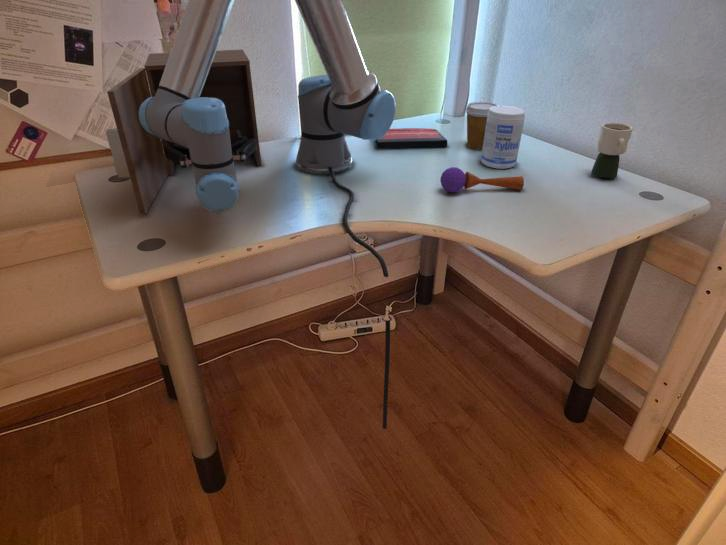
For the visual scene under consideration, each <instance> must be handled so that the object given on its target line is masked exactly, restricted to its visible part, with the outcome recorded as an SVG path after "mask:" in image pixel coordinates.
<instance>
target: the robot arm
mask: <svg viewBox="0 0 726 545" xmlns="http://www.w3.org/2000/svg"><path fill="white" fill-rule="evenodd" d="M235 1H236V0H188V1H187V3H186V7H185V10H184V12H183V15H182V17H181V21H180V24H179V27H178V29H177V32H176V35H175V38H174V41H173V43H172V47H171V50H170V52H169V53H170V55H169V58H168V61H167V64H166V67H165V70H164V72H163V75H162V78H161V81H160V84H159V87H158V89H157V92H156V95H155V97H152V96H151V97H150V98H147V99H146V100H145V101H144V102H143V103H142V104H141V106H140V108H139V120H140V123H141V125H142V126H143V128H144V129H145V130H146V131H147V132H149V133H150V134H152V135H154V136H156V137H157V138H159V139H162V140H168V141H170V142H172V147H170V146H164V150H163V151H165V154H164V155H165V156H166V158H168V159H169V160H171V161H173V162H174V164H177V165H178V166H180V169H183V170H184V169H187V168H188V167H189V166H190V165H191V166H192V172H193V177H194V183H195V193H196V194H195V195H196V197H197V200H198V202H199V203H200V205H201V206H202V207H203V208H204V209H206V210H208V211H210V212H214V213H223V212H227V211H229V210H231V209H232V208H233V207H234V206H235V205H236V204H237V202H238V200H239V195H240V194H239V193H240V188H239V183H238V180H237V174H236V166H235V160H236V161H239V162H240V163H241V164H244V163H246V161H247V159H248V158H249V157H250V156H251V155H252V154H254V153H253V152H254V151H255V150H256V149H257V148H256V140H255V138H251V139H250V140H247V138H246V136H241V133H240V130H236V132H237V140H238V141H237V142H234V143H232V144H231V140H230V132H229V121H228V119H227V114H226V109H225V105H224V103H223V102H222V101H221V100H219V99H217V98H208V97H200V95H201V92H202V90H203V87H204V84H205V81H206V79H207V76H208V73H209V70H210V67H211V65H212V62H213V59H214V56H215V54H216V51H218V48H219V45H220V43H221V40H222V37H223V34H224V32H225V28H226V26H227V23H228V21H229V18H230V15H231V11H232V10H233V7H234V3H235ZM294 2H295V4H296V7H297V8H298V11H299V13H300V15H301V17H302V20H303V22H304V25H305V26H306V27H305V28H306V29H307V32H308V35H309V37H310V38H311V41H312V44H313V45H314V48H315V50H316V53H317V55H318V57H319V59H320V62H321V64H322V67H323V69H324V71H325V74H321V75H314V76H308V77H305V78H302V79H300V81H299V82H298V86H297V88H298V90H297V91H298V94H297V100H298V102H297V103H298V112H299V124H300V142H299V146H298V150H297V154H296V158H295V162H296V164H295V165H296V168H297V169H298V170H299V171H301V172H304V173H306V174H312V175H320V176H321V175H330V177H331V181H332V183H333V184H334V186H335V187H336V188H338V189H339V190H342V191H344V192H345V193H348V194H349V199H348V201H347V203H346V206H345V209H344V212H343V217H342V220H343V221H342V222H343V227H344V229H345V231H346V232H347V234H348V235H349V237H350V238H351V239H352V240H353V241H354V242H356V243H357V244H358V245H360V247H363V248H364V249H366V250H368V251H369V252H370V253H371V254H372V255H373V256H374V257H375V258H376V259H377V260H378V262H379V264H380V267H381V270H382V274H383V277H384V278H388V277H389V271H388V268H387V264H386V262H385V260H384V258H383V256H382V255H380V253H378V251H377V250H375V248H373V247H372V246H371V245H370V244H368V243H366V242H365V241H363V240H362V239H360V238H359V237H358V236H356V235H355V233H354V232H353V231H352V229H351V227H350V226H349V223H348V222H349V221H348V215H349V212H350V209H351V205H352V203H353V202H354V199H355V194H354V191H352V190H351V189H350V188H348V187H347V186H344V185H341V184H340V183H338V181H337V179H336V175H335V174H339V173H343V172H345V171H347V170H349V169H350V168H352V166H353V156H352V153H351V150H350V147H349V144H348V141H347V138H346V136H347V135H348V136H351V137H354V138H358V139H362V140H364V141H366V140H368V141H375V140H379V139H381V138H382V137H383V136H384V135H385V134H386V133H387V132H388V130H389V129H391V127H392V125H393V123H394V119H395V116H396V108H397V107H396V106H397V104H396V99H395V97H394V95H393V94H392V93H391V92H390V91H388V90H385V89H384V90H382V89H381V87H380V84H379V80H378V78H377V75H375V73H374V72H373V71H370V70H367V66H366V65H365V62H364V58H363V56H362V53H361V50H360V47H359V45H358V42H357V39H356V36H355V34H354V31H353V28H352V25H351V22H350V20H349V16H348V14H347V11H346V9H345V6H344V3H343V0H294ZM345 134H347V135H345ZM384 344H385V345H384V347H385V349H384V375H383V376H384V378H383V379H384V380H383V404H382V429H383V430H386V429H388V426H387V425H388V402H389V401H388V399H389V383H390V382H389V380H390V358H391V357H390V356H391V319H388V320H385V343H384Z"/></svg>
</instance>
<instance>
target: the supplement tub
mask: <svg viewBox="0 0 726 545" xmlns="http://www.w3.org/2000/svg"><path fill="white" fill-rule="evenodd" d="M525 117H526V110H525V109H523V108H521V107H519V106H512V105H497V106H493V107H490V108H489V113H488V116H487V122H486V129H485V136H484V143H483V149H481V156H480V161H481V163H482V164H483V165H484V166H486V167H488V168H491V169H497V170H501V169H502V170H505V169H510V168H511V169H512V168H513V167H515V166H516V165H517V160H518V155H519V151H520V145H521V139H522V135H523V128H524V124H525Z"/></svg>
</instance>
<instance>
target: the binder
mask: <svg viewBox="0 0 726 545" xmlns="http://www.w3.org/2000/svg"><path fill="white" fill-rule="evenodd" d="M374 141H375V144H376V148H377V149H378V150H388V149H389V150H392V149H393V150H394V149H422V148H423V149H424V148H425V149H426V148H427V149H429V148H447V147H448V139H446V137H444V135H442V133H440V132H439V130H437V129H435V128H423V127H421V128H420V127H410V128H408V127H407V128H406V127H405V128H404V127H403V128H402V127H401V128H390V129H389V130H388V132H387V133H386V134H385V135H384V136H383V137H382V138H381V139H379V140H374Z"/></svg>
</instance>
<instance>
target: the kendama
mask: <svg viewBox="0 0 726 545" xmlns="http://www.w3.org/2000/svg"><path fill="white" fill-rule="evenodd" d="M441 173H442V174H441V176H440V181H439V182H440V185H441V187H442V188H443V189H444V191H446V192H449V193H457V192H460V191H461V190H462V189H463V188H464V189H465V190H469V189H471V188H473V187H476V186H478V185H481V184H482V185H488V186H493V187H499V188H505V189H511V190H518V191H522V190H523V188H524V185H525V179H524V176H521V175H520V176H505V177H493V178H491V177H490V178H488V177H487V178H480V177H478V176H476V175H475V174H472V173H471V172H469V171H466V172H464V170H462V169H461V168H459V167H455V166H452V167H448V168H446V169H445V170H444V171H443V172H441Z"/></svg>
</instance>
